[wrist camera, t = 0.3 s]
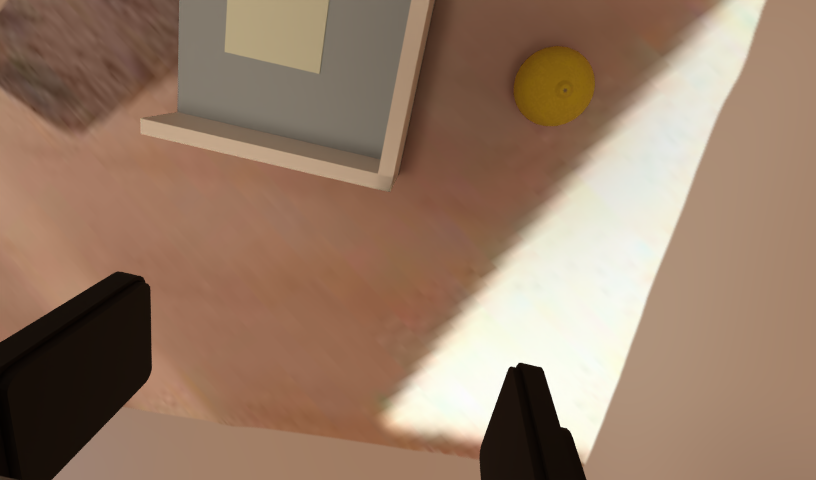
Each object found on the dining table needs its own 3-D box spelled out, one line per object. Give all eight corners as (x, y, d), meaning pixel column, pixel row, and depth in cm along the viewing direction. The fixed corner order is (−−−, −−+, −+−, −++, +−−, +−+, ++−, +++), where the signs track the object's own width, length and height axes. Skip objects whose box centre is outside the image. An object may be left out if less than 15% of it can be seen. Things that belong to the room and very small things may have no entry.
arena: (188, -115, 34) (136, -151, 28) (447, -56, 33) (446, -80, 28) (183, 124, 40) (140, 133, 35) (398, 174, 40) (390, 192, 35)
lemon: (494, 78, 36) (505, 81, 29) (554, 32, 35) (582, 24, 27) (530, 133, 38) (550, 149, 30) (590, 92, 36) (625, 99, 29)
